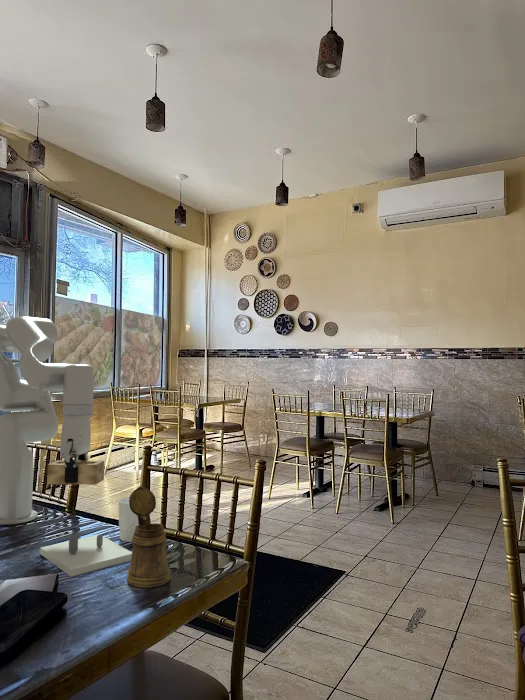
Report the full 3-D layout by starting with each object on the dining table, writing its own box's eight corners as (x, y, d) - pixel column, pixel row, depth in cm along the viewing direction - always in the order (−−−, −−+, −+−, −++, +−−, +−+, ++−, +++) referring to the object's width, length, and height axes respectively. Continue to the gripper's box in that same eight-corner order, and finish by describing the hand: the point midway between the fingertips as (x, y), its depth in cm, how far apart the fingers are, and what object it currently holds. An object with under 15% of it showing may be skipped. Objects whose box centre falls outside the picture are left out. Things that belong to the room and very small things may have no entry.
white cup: (130, 545, 128) (131, 505, 129) (111, 538, 133) (112, 500, 133) (154, 537, 134) (155, 499, 135) (135, 531, 139) (136, 494, 140)
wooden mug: (157, 561, 117) (159, 483, 118) (175, 583, 105) (177, 496, 106) (119, 567, 113) (121, 487, 114) (132, 591, 101) (135, 501, 102)
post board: (40, 553, 121) (41, 528, 121) (99, 540, 131) (99, 517, 132) (70, 576, 108) (71, 548, 108) (133, 559, 118) (134, 533, 119)
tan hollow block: (47, 484, 128) (47, 464, 129) (57, 479, 135) (57, 460, 135) (96, 484, 129) (96, 464, 129) (103, 479, 135) (104, 460, 135)
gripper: (75, 408, 141) (73, 473, 140) (50, 413, 124) (48, 487, 123) (102, 408, 141) (100, 473, 140) (80, 413, 124) (79, 487, 123)
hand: (76, 479), depth 132 cm, fingers closed on tan hollow block, 6 cm apart
